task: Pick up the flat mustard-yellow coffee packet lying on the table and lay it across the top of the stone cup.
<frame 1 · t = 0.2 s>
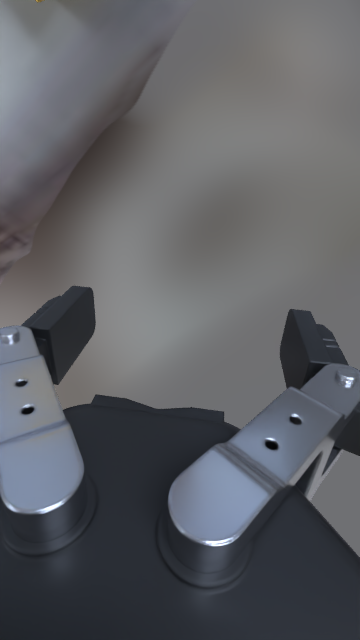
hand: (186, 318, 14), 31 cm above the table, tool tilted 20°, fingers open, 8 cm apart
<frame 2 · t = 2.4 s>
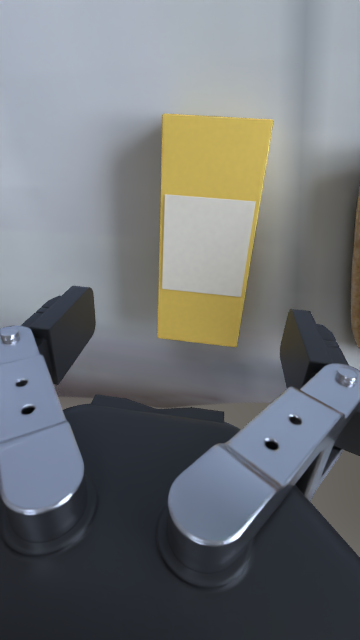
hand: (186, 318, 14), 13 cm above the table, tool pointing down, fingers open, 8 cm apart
packet: (208, 234, 25), on the table
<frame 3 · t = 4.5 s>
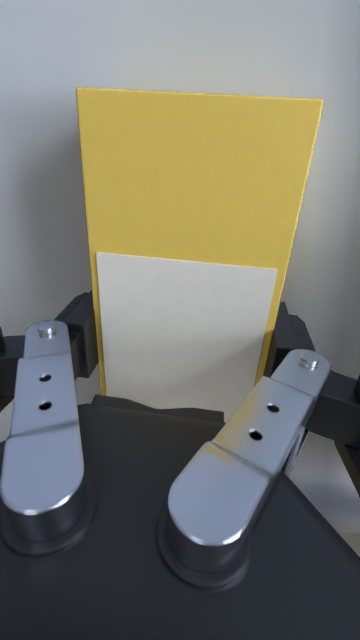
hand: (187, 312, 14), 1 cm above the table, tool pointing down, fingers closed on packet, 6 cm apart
packet: (190, 303, 15), on the table, touching gripper
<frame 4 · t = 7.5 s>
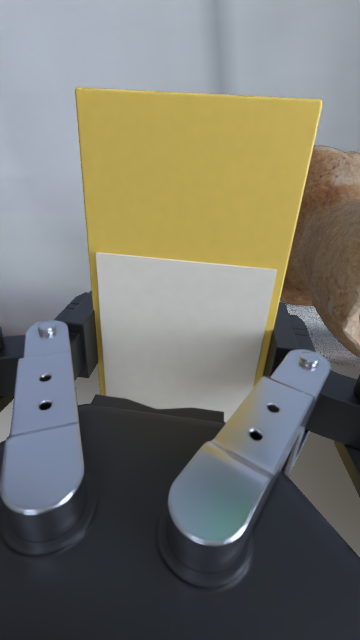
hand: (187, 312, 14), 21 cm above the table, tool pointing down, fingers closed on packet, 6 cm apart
stone cup: (328, 225, 32), on the table
packet: (189, 303, 15), point 20 cm above the table, touching gripper
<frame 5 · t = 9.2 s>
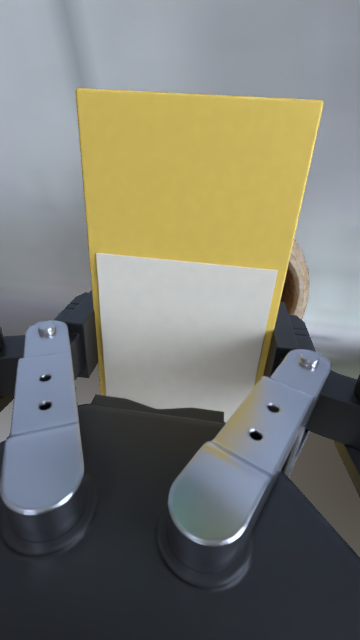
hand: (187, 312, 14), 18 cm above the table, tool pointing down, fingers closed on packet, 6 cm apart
stone cup: (211, 218, 30), on the table
packet: (190, 304, 15), point 18 cm above the table, touching gripper
when the fingers open (16 cm above the table, at t = 10.5 s): packet stays where it is, resting on stone cup.
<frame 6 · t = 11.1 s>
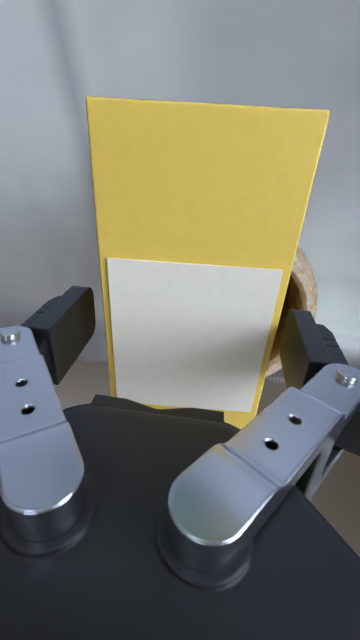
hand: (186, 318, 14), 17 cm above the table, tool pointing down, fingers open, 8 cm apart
stone cup: (209, 223, 29), on the table, touching packet
packet: (191, 298, 15), point 15 cm above the table, tilted 5°, touching stone cup
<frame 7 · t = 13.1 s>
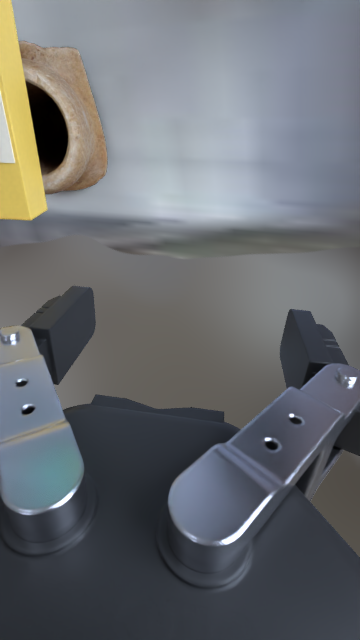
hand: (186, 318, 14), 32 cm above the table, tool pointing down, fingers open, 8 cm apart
stone cup: (71, 119, 40), on the table, touching packet
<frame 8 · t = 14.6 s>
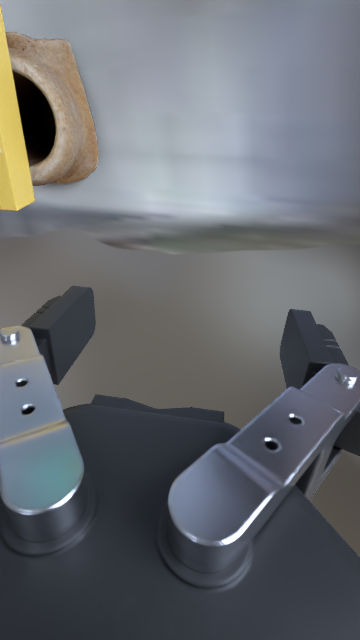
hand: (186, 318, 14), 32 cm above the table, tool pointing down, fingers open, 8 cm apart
stone cup: (62, 112, 40), on the table, touching packet
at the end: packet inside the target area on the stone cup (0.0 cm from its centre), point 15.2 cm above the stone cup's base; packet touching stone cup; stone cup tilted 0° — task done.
